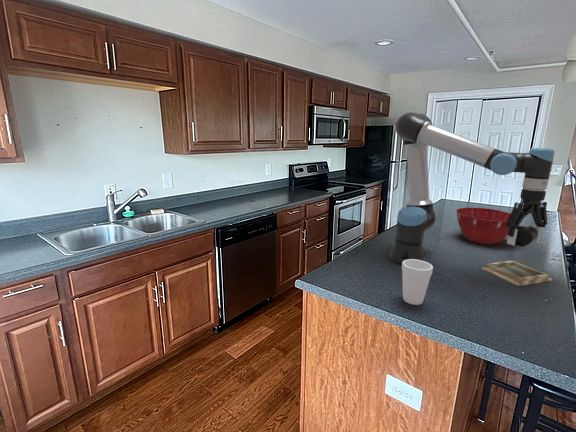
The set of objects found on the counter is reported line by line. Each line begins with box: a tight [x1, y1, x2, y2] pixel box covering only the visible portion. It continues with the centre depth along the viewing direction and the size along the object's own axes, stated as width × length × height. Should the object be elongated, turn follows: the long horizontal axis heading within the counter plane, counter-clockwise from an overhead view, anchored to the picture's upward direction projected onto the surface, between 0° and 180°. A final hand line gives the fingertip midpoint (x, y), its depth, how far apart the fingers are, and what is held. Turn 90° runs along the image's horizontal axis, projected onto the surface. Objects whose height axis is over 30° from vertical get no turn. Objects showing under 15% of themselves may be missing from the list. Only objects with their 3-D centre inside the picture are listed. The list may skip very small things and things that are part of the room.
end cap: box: [514, 225, 537, 248], centre depth 126 cm, size 10×7×7 cm
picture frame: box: [481, 260, 553, 287], centre depth 130 cm, size 18×16×2 cm
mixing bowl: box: [455, 207, 511, 246], centre depth 171 cm, size 28×28×16 cm
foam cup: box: [401, 259, 434, 306], centre depth 107 cm, size 10×9×13 cm
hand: (522, 243), depth 127 cm, fingers closed on end cap, 12 cm apart
